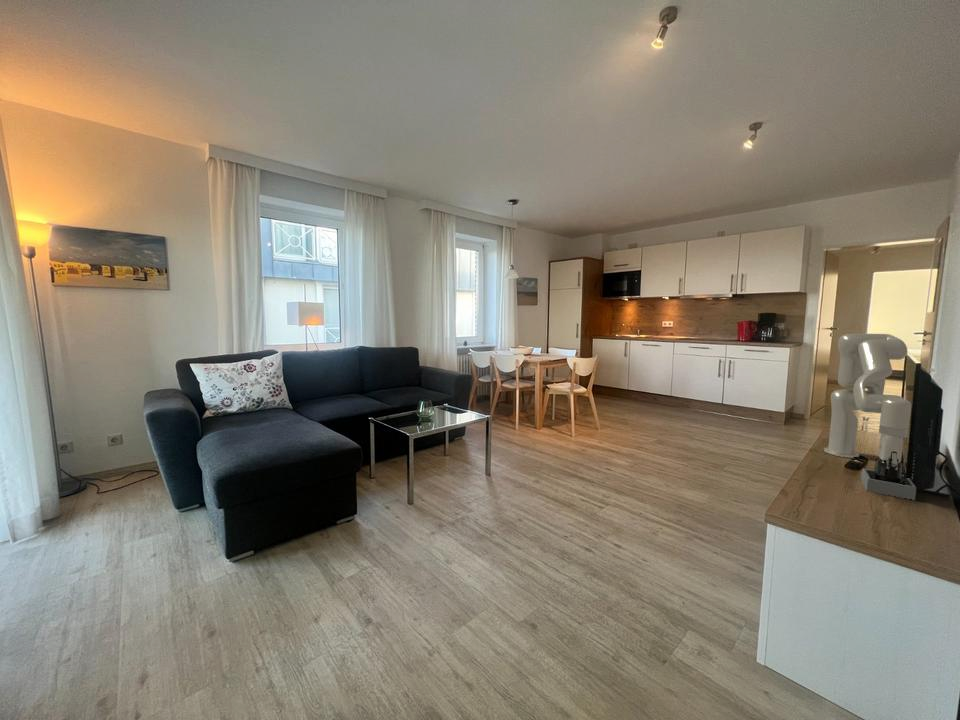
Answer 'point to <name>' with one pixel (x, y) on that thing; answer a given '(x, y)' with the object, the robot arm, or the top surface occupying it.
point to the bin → (888, 486)
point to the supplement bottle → (881, 470)
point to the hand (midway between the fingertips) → (887, 475)
